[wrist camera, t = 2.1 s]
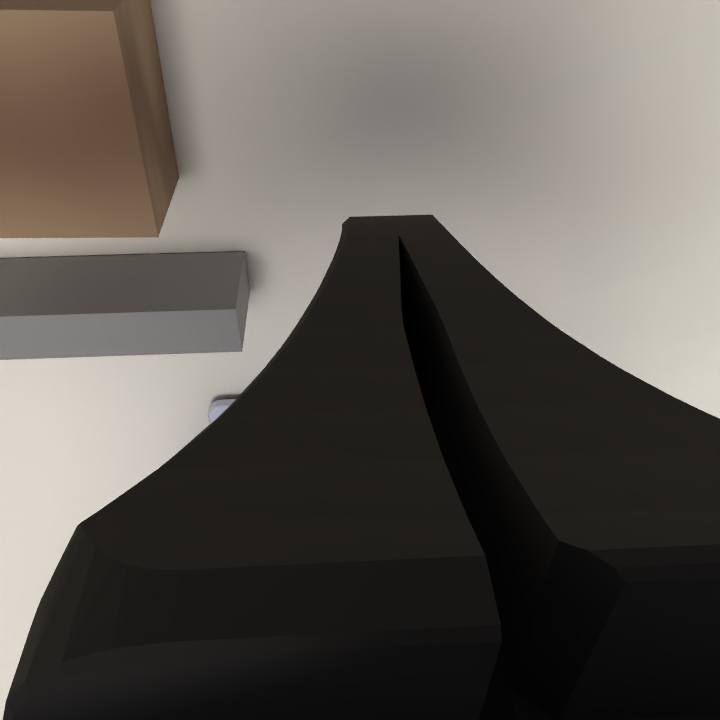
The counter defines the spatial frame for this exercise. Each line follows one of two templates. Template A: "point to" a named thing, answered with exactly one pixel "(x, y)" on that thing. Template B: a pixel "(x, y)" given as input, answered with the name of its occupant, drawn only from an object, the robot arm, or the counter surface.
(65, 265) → the green and grey bars
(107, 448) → the counter surface
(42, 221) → the walnut block
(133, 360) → the counter surface
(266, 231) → the counter surface
